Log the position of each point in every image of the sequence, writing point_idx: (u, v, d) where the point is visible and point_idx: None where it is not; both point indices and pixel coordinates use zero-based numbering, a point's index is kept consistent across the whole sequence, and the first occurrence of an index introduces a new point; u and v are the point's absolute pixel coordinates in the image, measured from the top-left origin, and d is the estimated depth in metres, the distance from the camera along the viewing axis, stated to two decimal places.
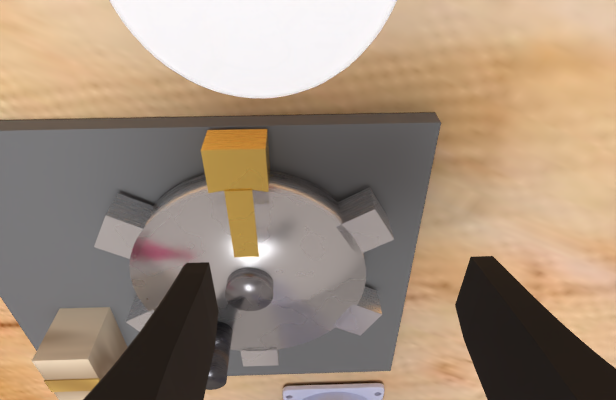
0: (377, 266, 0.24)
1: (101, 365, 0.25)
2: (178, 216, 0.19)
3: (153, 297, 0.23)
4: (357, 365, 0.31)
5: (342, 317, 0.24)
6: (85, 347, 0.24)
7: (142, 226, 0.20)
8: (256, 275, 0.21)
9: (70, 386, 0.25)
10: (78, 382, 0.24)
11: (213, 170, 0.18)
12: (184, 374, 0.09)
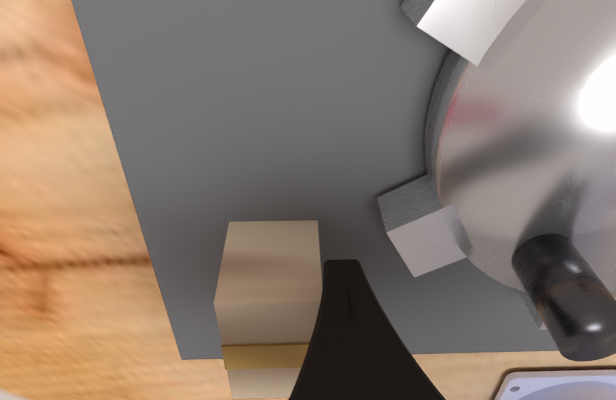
0: None
1: None
2: None
3: (469, 174, 0.11)
4: None
5: None
6: (308, 282, 0.12)
7: None
8: None
9: (264, 358, 0.13)
10: (282, 350, 0.13)
11: None
12: None
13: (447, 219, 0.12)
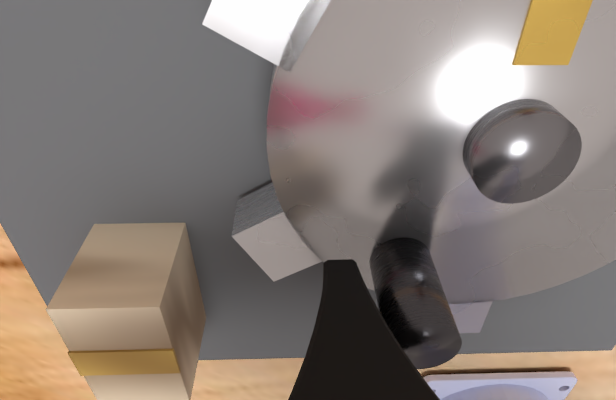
0: None
1: (176, 325, 0.13)
2: None
3: (301, 177, 0.11)
4: (564, 340, 0.19)
5: None
6: (151, 286, 0.12)
7: None
8: (554, 111, 0.09)
9: (117, 364, 0.13)
10: (133, 356, 0.13)
11: None
12: None
13: (291, 222, 0.12)
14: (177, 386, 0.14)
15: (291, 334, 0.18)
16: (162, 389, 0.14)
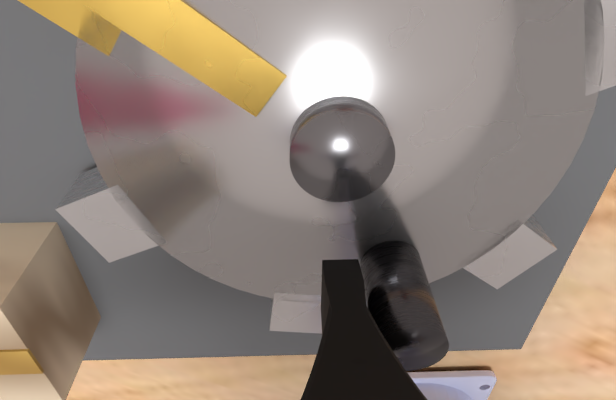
0: None
1: (35, 325, 0.13)
2: (108, 125, 0.10)
3: (252, 276, 0.13)
4: (471, 339, 0.19)
5: (592, 55, 0.09)
6: None
7: (107, 186, 0.11)
8: (315, 113, 0.09)
9: None
10: None
11: None
12: None
13: (287, 299, 0.14)
14: (45, 386, 0.14)
15: (191, 334, 0.18)
16: (31, 389, 0.14)
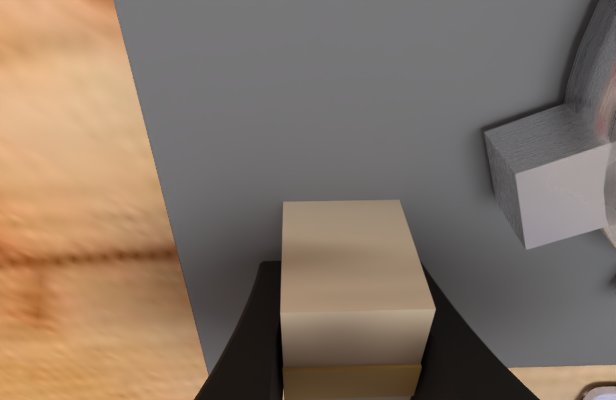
0: None
1: None
2: None
3: None
4: None
5: None
6: (407, 281, 0.09)
7: (601, 141, 0.08)
8: None
9: (338, 385, 0.10)
10: (364, 375, 0.10)
11: None
12: (277, 371, 0.09)
13: None
14: None
15: None
16: None
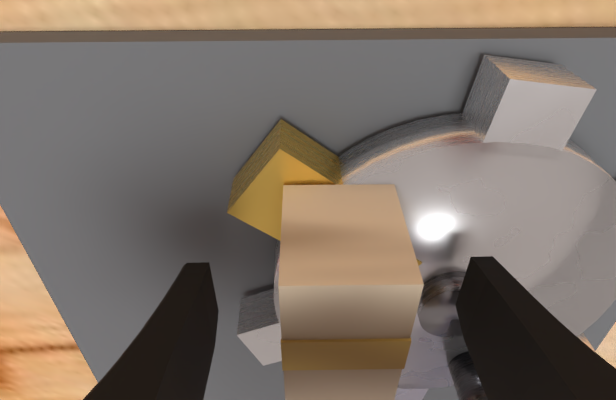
0: None
1: None
2: None
3: None
4: None
5: None
6: (398, 259, 0.09)
7: (277, 320, 0.15)
8: (440, 286, 0.14)
9: (333, 357, 0.10)
10: (357, 348, 0.10)
11: (263, 220, 0.12)
12: (184, 374, 0.09)
13: None
14: (389, 384, 0.11)
15: None
16: (369, 387, 0.11)
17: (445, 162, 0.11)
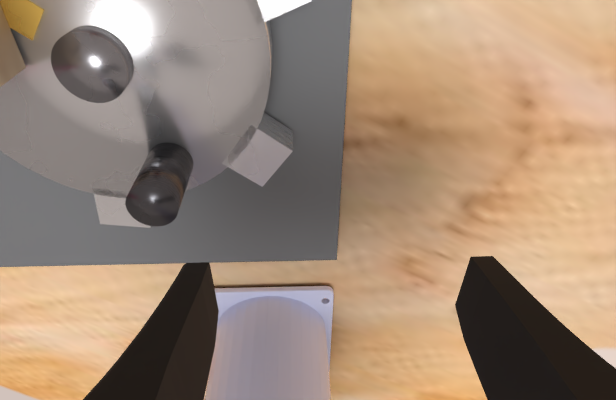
0: (299, 68, 0.17)
1: None
2: None
3: (71, 173, 0.18)
4: (292, 250, 0.23)
5: None
6: None
7: None
8: (65, 35, 0.14)
9: None
10: None
11: None
12: (184, 374, 0.09)
13: (104, 194, 0.18)
14: None
15: (62, 242, 0.23)
16: None
17: None
